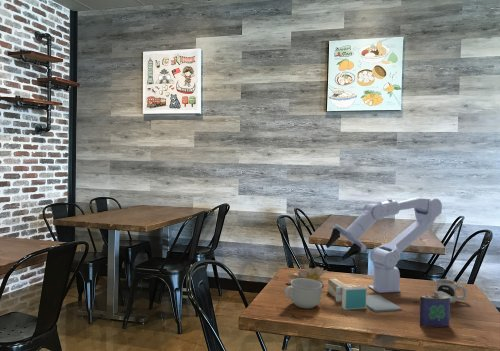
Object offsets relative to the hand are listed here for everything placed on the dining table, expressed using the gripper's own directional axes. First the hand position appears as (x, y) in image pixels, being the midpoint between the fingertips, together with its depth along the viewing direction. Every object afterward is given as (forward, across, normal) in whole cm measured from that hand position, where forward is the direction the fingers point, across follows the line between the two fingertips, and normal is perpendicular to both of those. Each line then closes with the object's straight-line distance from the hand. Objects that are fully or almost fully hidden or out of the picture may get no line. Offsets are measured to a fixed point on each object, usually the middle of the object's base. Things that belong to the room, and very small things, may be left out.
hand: (334, 252), depth 158 cm
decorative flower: (+13, -5, +16) cm, 21 cm away
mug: (-18, +37, +17) cm, 45 cm away
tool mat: (+3, +22, +5) cm, 23 cm away
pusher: (+10, +9, +8) cm, 16 cm away
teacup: (+23, +7, -5) cm, 25 cm away
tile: (+11, +19, -1) cm, 22 cm away
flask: (0, +41, -6) cm, 41 cm away
